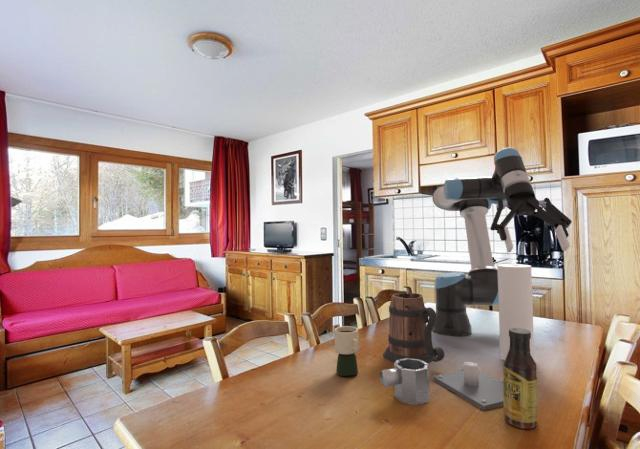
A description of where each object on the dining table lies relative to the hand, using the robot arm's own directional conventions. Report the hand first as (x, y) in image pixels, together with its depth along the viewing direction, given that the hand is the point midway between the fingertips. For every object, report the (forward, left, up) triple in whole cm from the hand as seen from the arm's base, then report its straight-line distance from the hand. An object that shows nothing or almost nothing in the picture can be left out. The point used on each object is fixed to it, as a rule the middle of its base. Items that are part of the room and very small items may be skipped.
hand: (538, 249), depth 93 cm
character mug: (-27, -45, -36) cm, 63 cm away
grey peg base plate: (-5, -18, -36) cm, 40 cm away
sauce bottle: (+11, -22, -36) cm, 44 cm away
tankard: (-29, -20, -36) cm, 50 cm away
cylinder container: (-16, +9, -36) cm, 40 cm away
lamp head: (-8, -38, -36) cm, 53 cm away
